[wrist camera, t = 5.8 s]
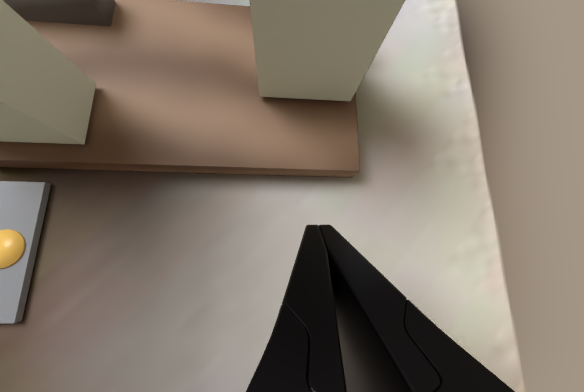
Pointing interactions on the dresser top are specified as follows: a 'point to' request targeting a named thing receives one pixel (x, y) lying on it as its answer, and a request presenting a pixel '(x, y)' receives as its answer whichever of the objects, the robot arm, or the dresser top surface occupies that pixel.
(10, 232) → the card
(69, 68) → the button
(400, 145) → the dresser top surface
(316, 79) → the button
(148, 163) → the wooden base plate
